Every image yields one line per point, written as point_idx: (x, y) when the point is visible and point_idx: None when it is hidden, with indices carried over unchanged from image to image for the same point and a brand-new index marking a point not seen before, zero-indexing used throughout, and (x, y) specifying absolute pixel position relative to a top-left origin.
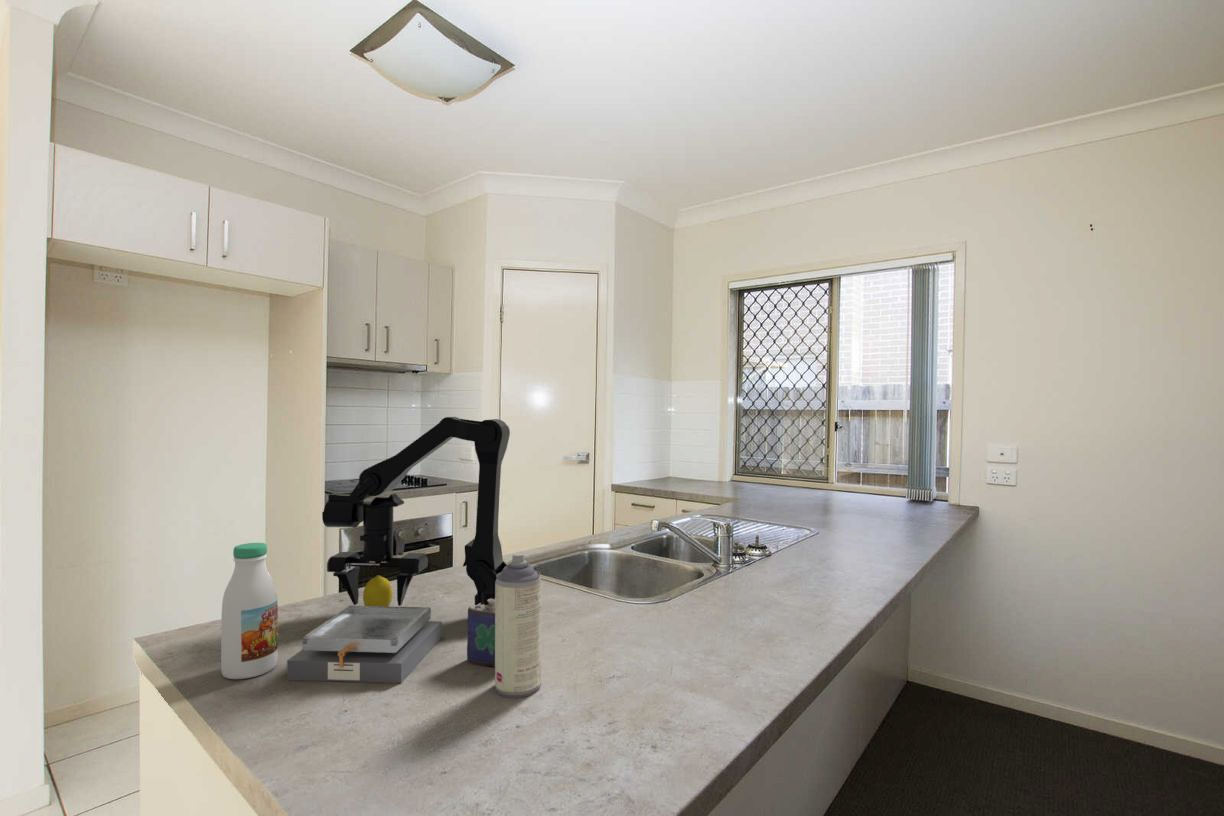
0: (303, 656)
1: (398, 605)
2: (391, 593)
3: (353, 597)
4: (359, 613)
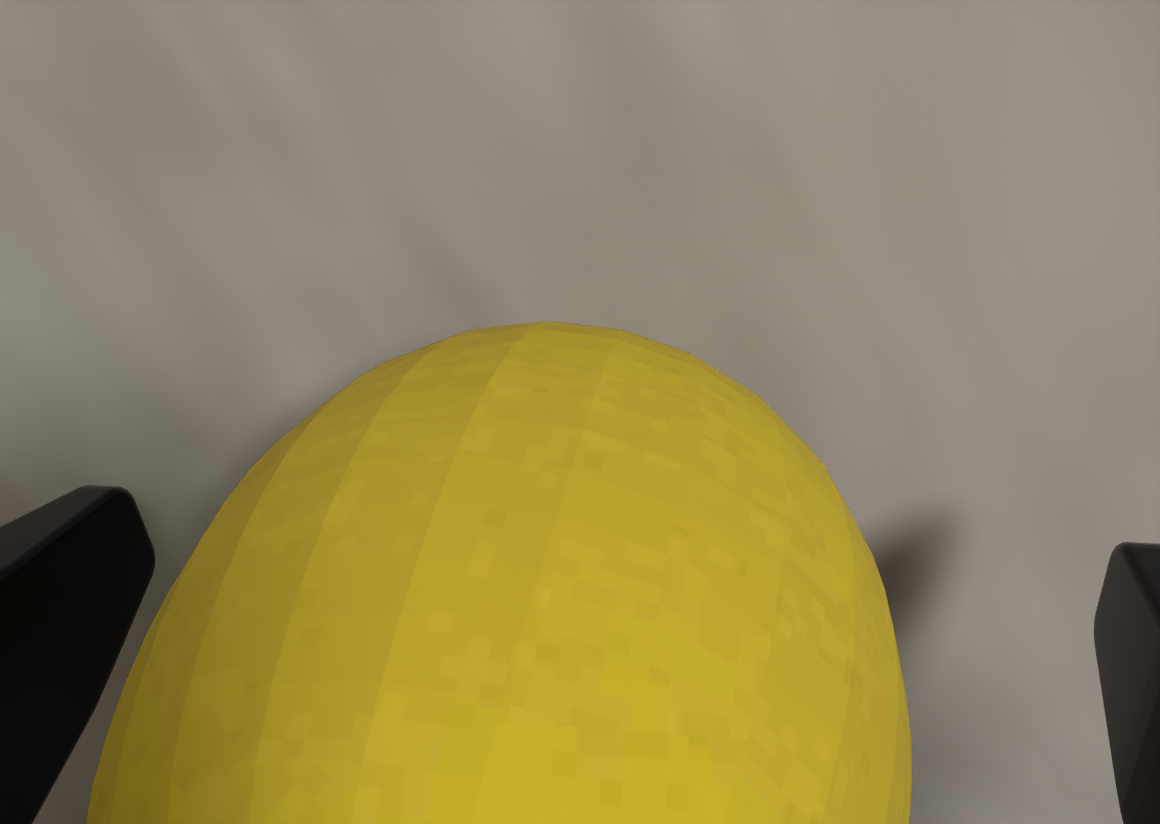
0: None
1: (1103, 647)
2: (908, 773)
3: (75, 743)
4: None
